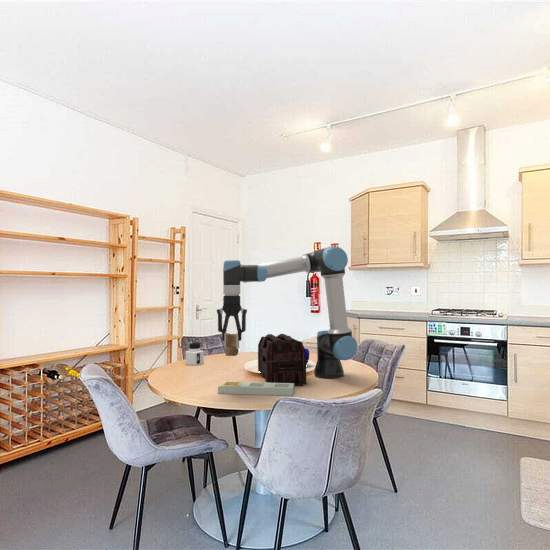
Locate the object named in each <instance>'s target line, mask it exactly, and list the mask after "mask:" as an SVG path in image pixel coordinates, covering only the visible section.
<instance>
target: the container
mask: <svg viewBox="0 0 550 550" xmlns="http://www.w3.org/2000/svg"><path fill="white" fill-rule="evenodd" d="M204 357H205V356H204V350H201V343H200V342H198V341H191V342H189V344H188V350H186V351H185V365H188V366H194V365H195V366H199V365H203V364H204V362H205V360H204Z"/></svg>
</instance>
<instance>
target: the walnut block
mask: <svg viewBox="0 0 550 550" xmlns="http://www.w3.org/2000/svg"><path fill="white" fill-rule="evenodd" d="M236 334H237V333H228V334H227V335H226V348H225V357H236V356H238V355H239V348H238V349H236Z"/></svg>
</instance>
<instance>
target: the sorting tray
mask: <svg viewBox="0 0 550 550" xmlns="http://www.w3.org/2000/svg"><path fill="white" fill-rule="evenodd" d="M294 391H295V386H294V383H267V382H262V381H261V382H255V381H254V382H253V381H238V380H237V381H236V380H235V381H234V380H225V381H222V382H221V383H220V384H219V385H218V386H217V394H219V395H220V394H227V395H261V396H262V395H263V396H290V397H291V396H293V394H294V393H295V392H294Z"/></svg>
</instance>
